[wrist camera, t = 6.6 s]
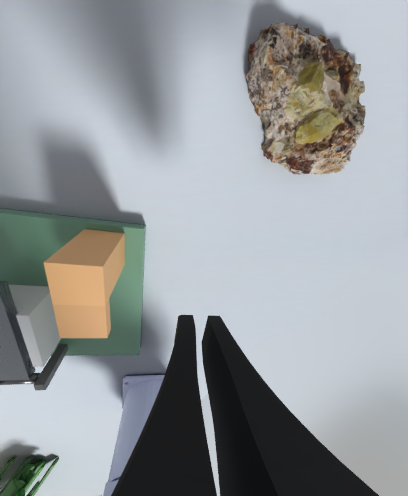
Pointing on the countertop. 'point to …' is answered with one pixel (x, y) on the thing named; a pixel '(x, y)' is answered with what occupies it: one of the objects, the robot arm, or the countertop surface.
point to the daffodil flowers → (24, 477)
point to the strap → (13, 344)
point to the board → (47, 241)
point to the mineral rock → (305, 99)
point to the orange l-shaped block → (85, 282)
